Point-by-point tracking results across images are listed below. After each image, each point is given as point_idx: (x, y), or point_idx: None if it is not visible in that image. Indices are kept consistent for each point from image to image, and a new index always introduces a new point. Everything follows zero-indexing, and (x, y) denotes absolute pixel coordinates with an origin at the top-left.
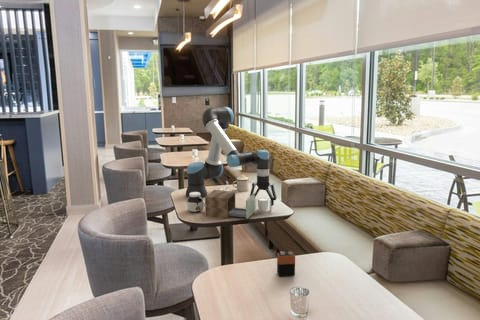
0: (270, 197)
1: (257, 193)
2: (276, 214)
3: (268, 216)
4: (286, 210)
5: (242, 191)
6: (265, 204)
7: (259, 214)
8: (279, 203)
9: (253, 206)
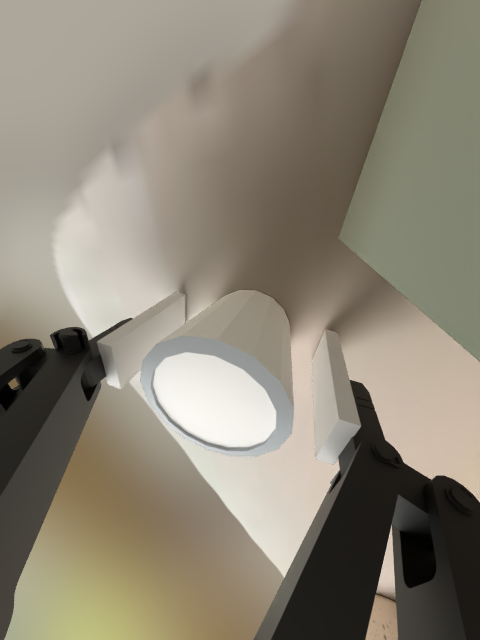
0: (53, 384)
1: (288, 570)
2: (116, 214)
3: (164, 119)
4: (91, 317)
5: (383, 598)
6: (189, 320)
7: (275, 181)
8: (167, 428)
9: (399, 136)
